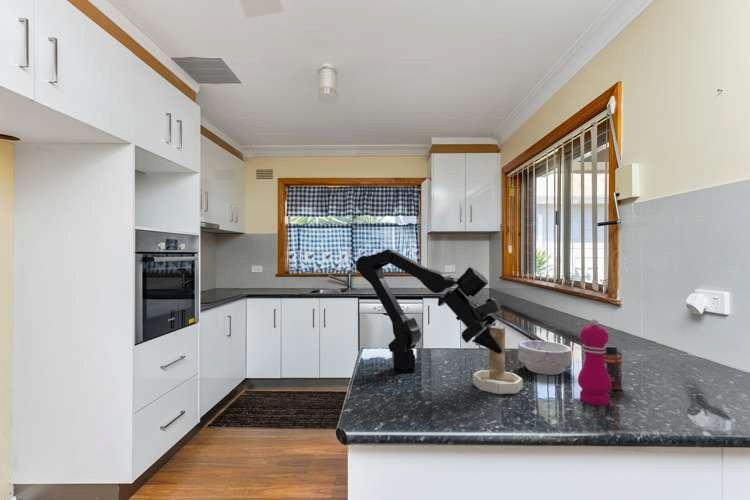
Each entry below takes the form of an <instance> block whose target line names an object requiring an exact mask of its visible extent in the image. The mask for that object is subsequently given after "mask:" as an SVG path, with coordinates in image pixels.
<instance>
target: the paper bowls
mask: <svg viewBox="0 0 750 500" xmlns="http://www.w3.org/2000/svg"><path fill="white" fill-rule="evenodd" d="M517 347H518V351H517V352H518V353H517V354H518V357H517V358H518V360H519V361H520V362H522V363H523V364H524V366H525V368H526V369H527V370H528V371H529V372H532V373H535V374H539V375H546V376H555V375H560V374H562V373H564V370H565V369H566V368H569V367H570V366H571V365H572V363H573V362H572V361H573V359H572V356H573V354H572V348H571V346H568V345H565V344H564V343H560V342H556V341H555V342H554V341H548V340H536V339H535V340H523V341H521V342H519V343H518V346H517Z"/></svg>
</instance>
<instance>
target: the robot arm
mask: <svg viewBox="0 0 750 500" xmlns="http://www.w3.org/2000/svg"><path fill="white" fill-rule="evenodd" d="M389 264H390V265H393V266H394V267H396V268H398V269H399V270H402V271H403V272H405V273H407V274H409V275H410V276H412V277H413V278H416V279H417V280H419V282H421V283H422V285H423V286H424V287H426V288H427V289H428V290H429V291H431V292H432V293H435V294H441V293H444V292H445V294H444V295H442V296H441V295H440V296H438V297H437V299H438V301H437V306H438V307H442V306H444V305H446V306H448V308H449V309H450V310H451V311H452V312H453V314H454V315H455V316H456V317H455V319H456V320H457V321H461V322H462V324H463V325H464V326H465V327H466V328H465V329H464V330H463V331H462V332H461V339H462V340H463V341H464V342H465V343H466V344H467V343H469V342H470V341H471V342H472V343H475V344H477V345H479V346H481V347H483V348H486V349H488V350H489V349H490V350H492V351H494V352H496V353H498V354H500V353H501V352H502V350H501V348H500V347H499V345H498V344H497V343H496V341H495V340H494V338H493V337H492V335H491V333H490V327H491V326H497V320H498V317H497V316H496V315H495V313H498V312H499V311H501V310H502V308H501V305H500V304H501V303H500V301H498V299H494V298H493V297H489V298H487V299H485V303H483V304H480V305H478V304H477V303H475V302H472V301H471V300H470V299H469V298H468V297H473V298H475V297H476V296H477V295H478V294H479V293H480V292H481V291H483V289H484V288H485V287H486V286H488V285H489V281H488V279H487V278H486V277H485V275H483V274H482V273H480V272H479V271H477V270H476V269H475V268H474V267H472V266H468V268H467V269H466V270H465V271H464V273H463V274H462V275H461V276H460V277H459V278H458V277H457V278H456V277H451V275H449V273H447V272H446V273H445V272H443V271H439V270H436V269H432V268H428V267H426V266H424V265H422V264H421V263H418V262H416V261H415V260H413V259H410V258H409V257H407V256H405V255H403V254H402V253H399V252H398V251H397V250H394V249H385V250H383V251H381V252H378V253H377V252H376V253H373V254H371V255H361V256H359V257H358V259H357V260H356V264H355V268H356V270H357V272H358V273H359V274H360V276H361V277H362V278H363V279H365V280H366V281H367V282H368V283H369V284H370V285H371V287H372V289H373V290H374V292H375V294H376V296H377V298H378V300H379V301H380V302H381V305H382V307H383V308H384V310H385V313H386V314H387V316H388V317H389V319H390V321H391V323H392V333H393V336H394V338H393V340H392V341H390V343H388V350H389V352H390V353H391V365H390V369H391V370H392V372H393V373H396V374H398V373H401V374H402V373H415V372H416V370H415V369H416V354H414V349H415V348H416V346H417V344H418V343H419V342H420V340H421V338H422V333H421V330H422V328H421V327H420V326H419V325H418V323H417V320H416V319H415V317H411V318H409V317H408V316H407V315H406V314H405V312H404V311H403V309H402V307H401V305H400V303H399V302H398V300H397V298H396V297H395V295H394V293H393V291H392V289H391V288H390V286H389V284H388V282H387V281H386V279H385V275H384V267H387V266H388V265H389ZM451 288H455V289H453V290H451ZM473 338H474V339H473ZM472 339H473V340H472Z"/></svg>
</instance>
